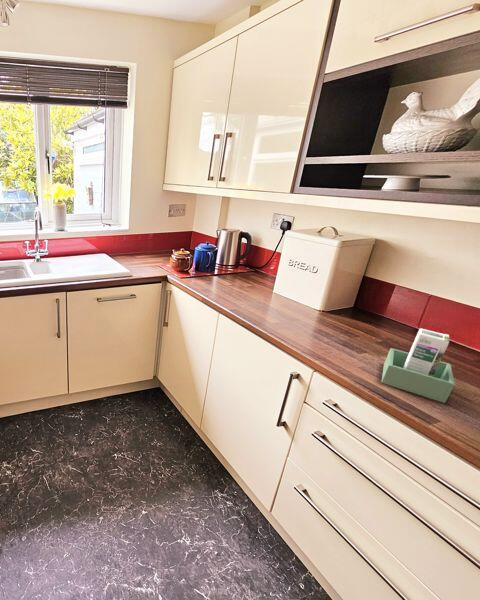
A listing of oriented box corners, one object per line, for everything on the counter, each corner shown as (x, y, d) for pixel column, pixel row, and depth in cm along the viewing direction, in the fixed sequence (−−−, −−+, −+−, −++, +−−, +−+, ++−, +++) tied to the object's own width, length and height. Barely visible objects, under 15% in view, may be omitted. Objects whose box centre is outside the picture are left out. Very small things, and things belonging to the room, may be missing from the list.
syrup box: (398, 379, 94) (419, 333, 88) (400, 371, 97) (420, 326, 92) (427, 389, 90) (450, 341, 84) (427, 379, 94) (450, 333, 88)
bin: (441, 381, 94) (450, 364, 92) (445, 403, 86) (454, 384, 84) (383, 364, 102) (390, 347, 100) (381, 382, 94) (388, 365, 91)
